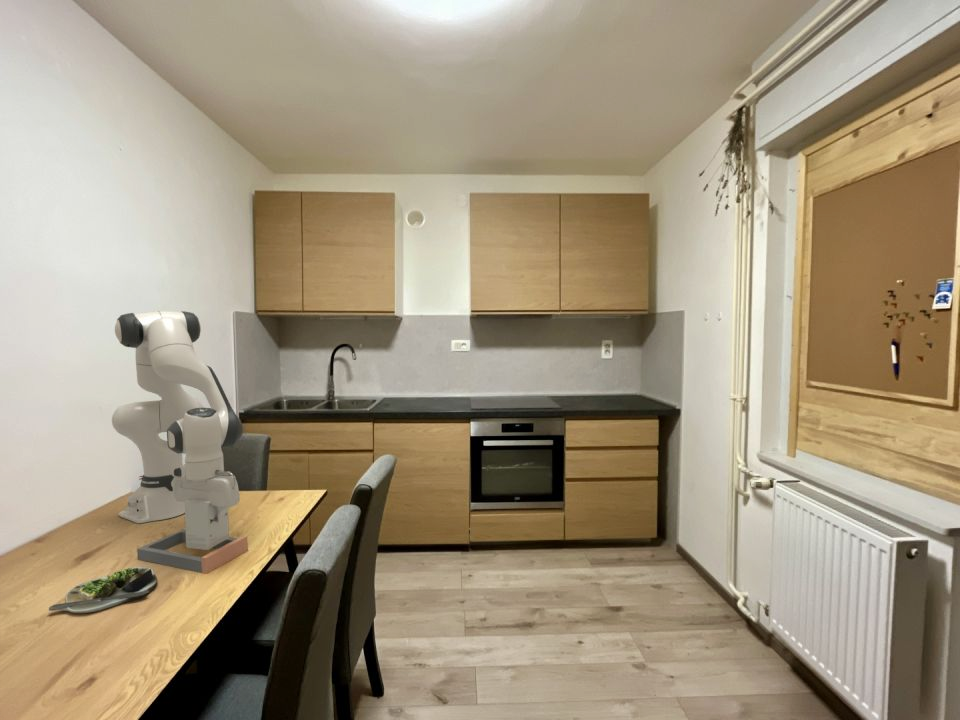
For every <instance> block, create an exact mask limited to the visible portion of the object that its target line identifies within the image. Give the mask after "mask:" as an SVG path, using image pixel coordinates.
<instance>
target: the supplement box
mask: <svg viewBox="0 0 960 720" xmlns="http://www.w3.org/2000/svg"><path fill="white" fill-rule="evenodd" d="M218 512H219V510H217V507H216V506H212V502H211V501H207V500H201V499H190V500H187V501H185V513H184V514H185V515H184V516H185V517H184V518H185V519H184V520H185V521H184V523H185V524H184V525H185V530H186V543H185V548H187V549H195V550H204V551H209V550H211V549H212V548H213V547H214V546H216V545H218V544H219V543H221V542H223V541H225V540H227V539H229V537H230V535H229V534H230V533H229V530H230V529H229V527H230V526H229V525H230V524H229V508H228V509H227V511H226V513H225V520H224V521H223V522H221V523H220V522H216V521H215V520H216V519H215V516H216V515H218Z"/></svg>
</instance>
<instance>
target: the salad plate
mask: <svg viewBox="0 0 960 720" xmlns="http://www.w3.org/2000/svg"><path fill="white" fill-rule="evenodd" d="M157 584H158V578H157V575H156V573H155V572H154V569H152V568H151V567H150V566H134V567H130V568H129V567H128V568H125V569H121V570H120V571H115V572H114V573H111V574H109V575H106V576H105V575H104V576H101V577H98V578H95V579H91V580H88V581H85V582H81V583H80V584H78V585H76V586H75V587H73V588H71V589H70V590H69V591H68V592H67V593H66V594H65V602H63V603H58V604H57V603H56V604H53V605H50V606H49V607H48V611H52V612H53V611H66V612H70V613H78V614H80V613H81V614H83V613H84V614H87V613H96V612H99V611H103V610H106V609H109V608H112V607H115V606H119V605H121V604H125V603H129V602H132V601H134V600H137V599H140V598H142V597H145V595H147V594H150V592H152V591H153V590H154V589H155V588H156V586H157Z"/></svg>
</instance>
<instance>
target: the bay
mask: <svg viewBox="0 0 960 720" xmlns="http://www.w3.org/2000/svg"><path fill="white" fill-rule="evenodd" d="M248 541H249V539H248V536H247V535H242V536H240V537H238V538H237V537H231V536H229V539H227V540H225V541H223V542H221V543H219V544H218V545H216V546H214V547H212V548H213V549H214V550H213V551H211V552H209V553H206V554H205V555H204V556H201V557H200V556H195V555H192V554H191V555H190V554H186V553H185V554H184V553H180V552H175V551H168V549H170V548H171V547H172V548H173V547H174V546H176V545H178V544H180V543H185V544H186V529H183V528H182V529H179V530H178V531H175V532H173V533H171V534H168V535H167V536H164V537H162V538H159V539H157V540H154V541H153V542H149V543H148V544H145V545H143V546H141V547H138V548H137V549H136V550H137V560H138V561H142V562H147V563H148V562H149V563H151V564H158V565H162V566H168V567H173V568H175V569H176V568H177V569H182V570H187V571H192V572H196V573H202V574H206V575H207V574H208V573H210V572H212V571H213V570H214V571H215V570H216V569H217V567H218V568H219V567H221V566H223V565H225V564H226V562H227V563H228V562H229V561H232V560H234V559H235V558H237V557H239V556H241V555H243V554H244V553H247V552H248V551H249V544H248ZM215 568H216V569H215Z"/></svg>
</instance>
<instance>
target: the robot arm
mask: <svg viewBox="0 0 960 720" xmlns="http://www.w3.org/2000/svg"><path fill="white" fill-rule="evenodd" d="M201 331H202V327H201V322H200V321H199V317H198V316H197V315H196V314H195V313H194V312H190V311H186V310H185V311H183V310H182V311H172V310H158V311H150V312H149V311H147V312H146V311H145V312H137V313H134V312H130V313H128V312H127V313H124V314H121V315H120V316H119V317H118V318H117V319H116V323H115V324H114V334H115V337H116V338H117V340H118V342H119V344H121V345H122V346H123V347H126V348H131V349H135V368H136V371H135V372H136V379H137V380H136V381H137V384H138V386H139V387H140V389H142V390H144V391H146V392H149V393H152V394H155V395H158V396H159V397H160V398H161V399H159V400H149V401H136V402H132V403H127V404H123V405H119V406H118V407H117V408H116V409H115V410H114V411H113V413H112V416H111V425H112V427H113V429H114V430H115V431H116V432H117V433H118V434H119V435H122V436H123V437H125V438H127V439H129V440H130V441H131V442H133V444H135V445H136V447H137V449H138V451H139V452H140V456H141V462H142V468H143V475H140V476H138V481H140V484H139V485H140V486H139V487H137V488H136V489H135V491H134V492H132V493H131V494H130V495H129V496H128V497H127V500H126V508H125V509H123V510H121V511H119V513H118V516H119V517H121V518H122V519H126V520H129V522H130V521H131V522H133V523H136V524H143V523H148V522H154V521H162V520H167V519H172V518H174V517H178V516H180V515H183V514H185V501H187V500H190V499H201V500H207V501H211V502H212V506H216V507H217V510H219V512H218V515H216V516H215V519H216V520H215V521H216V522H220V523H221V522H223V521H224V520H225V513H226V511H227V509H228V510H229V508H232V507H234V506H237V505H238V504H239V503H240V498H241V497H240V489H239V485H238V481H237V479H236V476H235V475H234V474H233V473H232V472H231V471H229V470H227V471H225V465H224V453H223V450H222V449H224V448H225V449H228V448H232V447H234V446H235V445H236V444H238V442H239V441H240V439H241V438H242V436H243V425H242V421H241V420H240V418H239V416H238V415H237V413H236V412H235V411H234V409H233V408H232V406H231V403H230V402H229V400H228V397H227V395H226V393H225V390H224V389H223V387H222V385H221V382H220V381H219V378H218V376H217V375H216V373H215V371H214V370H213V368H212V367H211V366H209V365H207V364H205V363H204V362H203V361H202V360H201V359H200V358H199V357H198V356H197V354H196V352H195V348H194V344H193V343H195V342H197V340H199V338H200V336H201ZM182 385H183V386H187V387H191V388H193V389H197V391H200V392H202V393H203V394H204V396H205V399H206V400H207V402H208V404H209V407H204V405H203V403H201V401H199V400H198V399H197V398H194V397H192V396H191V395H190V394H188V393H187V392H186V391H185V390H184V388H183V387H182ZM161 433H166V438H167V440H164V439H163V438H161V437H160V436H159V434H161ZM183 455H185V459H184V464H183Z"/></svg>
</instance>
